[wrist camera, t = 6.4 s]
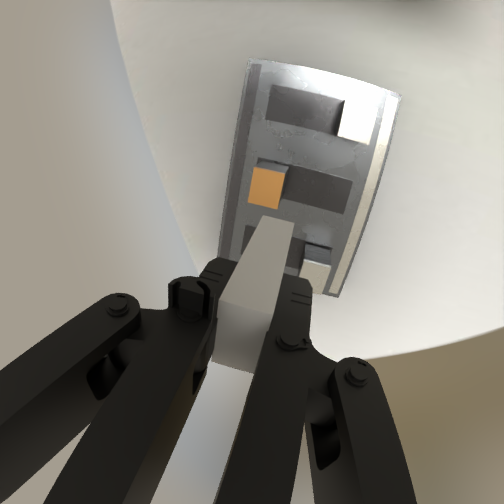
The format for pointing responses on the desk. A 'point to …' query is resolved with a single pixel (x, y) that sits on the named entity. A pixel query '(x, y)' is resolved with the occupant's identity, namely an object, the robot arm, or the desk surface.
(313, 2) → the desk surface
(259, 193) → the toggle
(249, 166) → the panel
